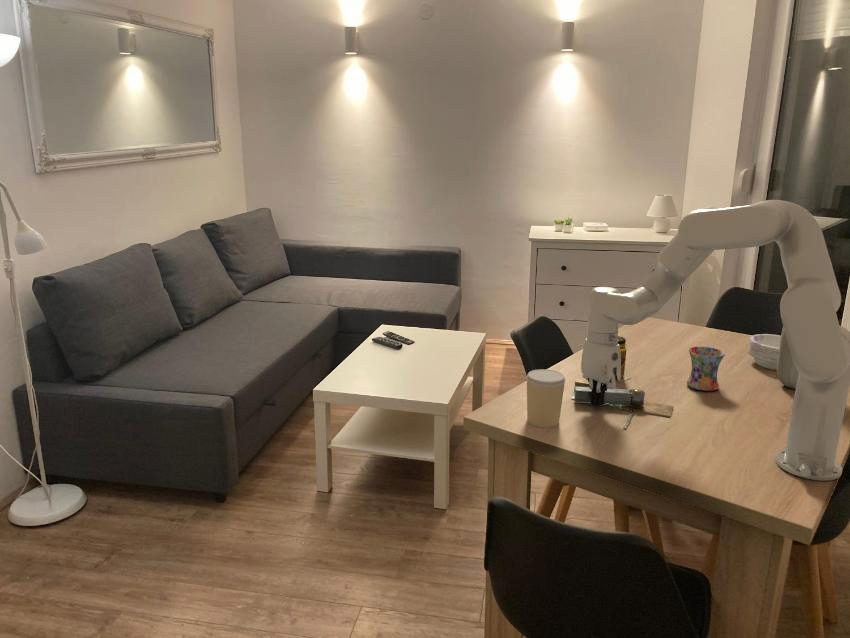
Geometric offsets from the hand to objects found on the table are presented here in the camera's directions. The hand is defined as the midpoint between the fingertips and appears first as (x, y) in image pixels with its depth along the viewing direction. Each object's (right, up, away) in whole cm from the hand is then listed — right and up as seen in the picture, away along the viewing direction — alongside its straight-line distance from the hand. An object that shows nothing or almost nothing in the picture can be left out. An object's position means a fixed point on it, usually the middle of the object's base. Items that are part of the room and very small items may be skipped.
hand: (597, 404), depth 180 cm
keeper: (+2, +1, +7) cm, 8 cm away
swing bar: (+4, 0, +3) cm, 5 cm away
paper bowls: (+63, +8, +36) cm, 73 cm away
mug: (+34, +3, +18) cm, 39 cm away
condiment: (+10, +5, +24) cm, 27 cm away
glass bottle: (+60, +3, +18) cm, 63 cm away
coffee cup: (-15, -3, -7) cm, 17 cm away
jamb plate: (+11, -3, -4) cm, 12 cm away
